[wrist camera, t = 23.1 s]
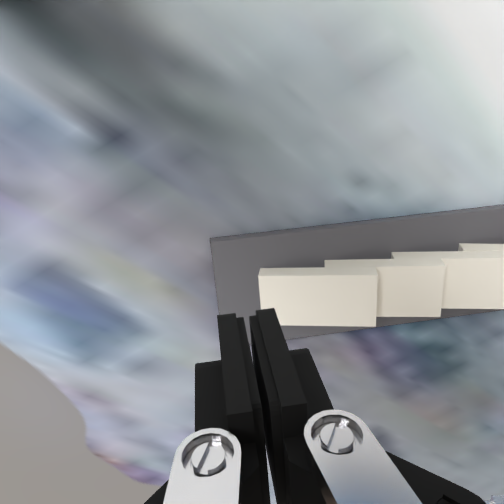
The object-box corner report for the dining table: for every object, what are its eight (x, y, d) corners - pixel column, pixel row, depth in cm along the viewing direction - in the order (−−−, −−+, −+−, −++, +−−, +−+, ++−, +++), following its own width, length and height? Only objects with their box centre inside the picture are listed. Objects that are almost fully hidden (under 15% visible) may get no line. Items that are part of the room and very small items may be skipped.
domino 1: (262, 325, 39) (375, 326, 37) (258, 275, 37) (377, 275, 35) (264, 315, 40) (373, 316, 38) (260, 268, 38) (375, 267, 36)
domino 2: (325, 316, 39) (440, 317, 37) (324, 267, 37) (445, 265, 35) (325, 307, 40) (435, 307, 39) (324, 260, 39) (440, 258, 37)
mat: (222, 342, 42) (223, 348, 41) (209, 238, 37) (210, 242, 37) (508, 303, 44) (514, 308, 43) (526, 201, 40) (534, 204, 39)
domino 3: (391, 307, 40) (507, 309, 38) (394, 258, 38) (517, 258, 36) (388, 299, 41) (501, 300, 39) (391, 251, 39) (509, 250, 37)
